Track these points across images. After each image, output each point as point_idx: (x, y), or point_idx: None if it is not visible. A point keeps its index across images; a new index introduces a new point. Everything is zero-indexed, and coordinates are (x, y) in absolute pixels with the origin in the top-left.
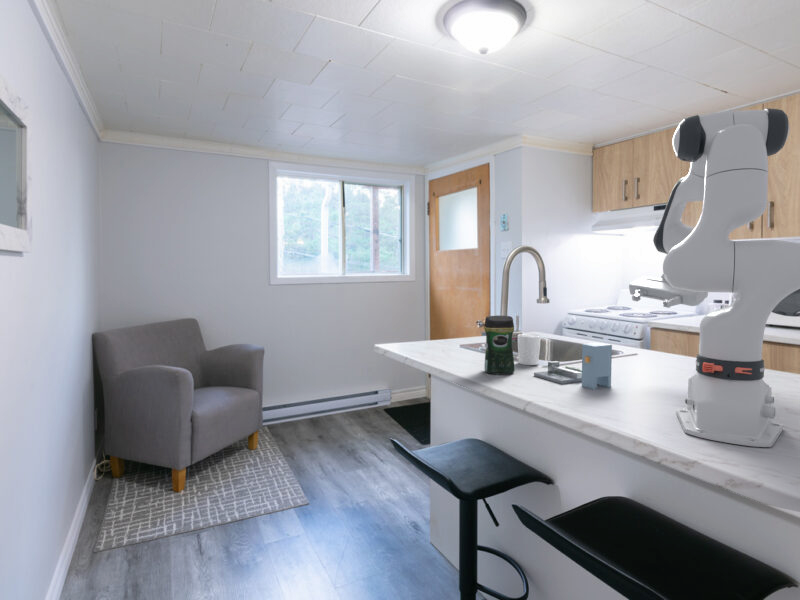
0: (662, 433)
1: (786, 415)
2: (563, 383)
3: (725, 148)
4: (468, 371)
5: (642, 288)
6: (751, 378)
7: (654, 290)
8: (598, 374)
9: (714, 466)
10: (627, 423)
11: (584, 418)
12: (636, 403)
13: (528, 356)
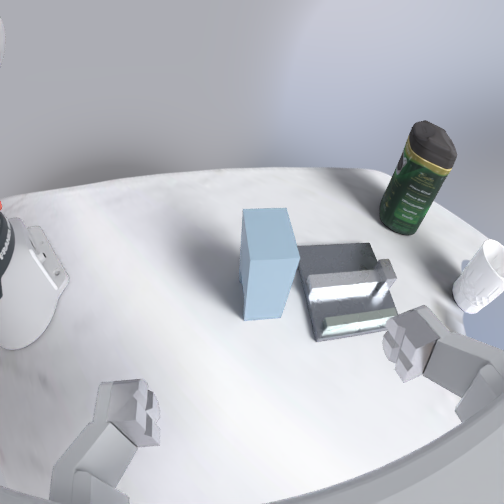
0: (57, 212)
1: None
2: None
3: None
4: None
5: (501, 396)
6: None
7: (378, 469)
8: (241, 267)
9: (16, 197)
10: (93, 204)
11: (132, 181)
12: (132, 273)
13: (461, 275)
